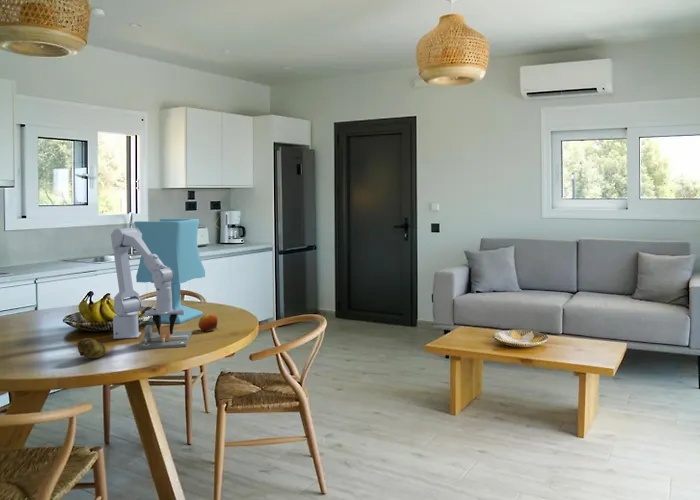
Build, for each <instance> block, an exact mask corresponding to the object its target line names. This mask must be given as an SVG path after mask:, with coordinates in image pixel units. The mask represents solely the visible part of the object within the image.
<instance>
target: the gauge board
mask: <svg viewBox="0 0 700 500" xmlns="http://www.w3.org/2000/svg"><path fill="white" fill-rule="evenodd" d="M192 335H193V330H186V331H183V330H182V331H173V334H172V336H170V341H165V343H163V341H160V335H159V333H158V332H152V337H151V342H147V344H145V338H144V336H143V337H142V341H141V342H140V344H138V347H137V348H138V350H143V349H144V350H145V349H165V348H167V349H169V348H185V347H187V346H188V344H189V342H190V340H191V337H192Z"/></svg>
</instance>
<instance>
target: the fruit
mask: <svg viewBox="0 0 700 500" xmlns="http://www.w3.org/2000/svg"><path fill="white" fill-rule="evenodd" d="M218 323H219V322H218V317H217V316H216V315H215V314H213V313H207V314H205V315H202V316H200V318H199V321H198V328H199V329H200V330H201V331H202V332H211V331H214V330H218V328H217V327H218Z"/></svg>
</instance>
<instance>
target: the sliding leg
mask: <svg viewBox="0 0 700 500" xmlns="http://www.w3.org/2000/svg"><path fill="white" fill-rule="evenodd" d="M170 336H172V334H170V323H162V324H161V326H160V341H163V343H165V341H170Z"/></svg>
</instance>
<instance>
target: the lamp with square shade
mask: <svg viewBox="0 0 700 500" xmlns="http://www.w3.org/2000/svg"><path fill="white" fill-rule="evenodd" d="M133 223H134V227H137V228H138V229H139V231H140V232H141V233H142V240H143V241H144V243H145V244H146V246H147V247H148V249H149V251H150V252H151V254H156V255H157V256H158V258H159V259H160V260H161V261H162V263H163V264H164V265H165V266H167V267H170V268H171V269H172V270H173V272H174V279H173V281H172V282H171V290H172V309H184V315H177V318H176V320H175V323H174V325H176V324H177V325H178V324H179V325H180V324H183V323H187V322H189V321H191V320H194V319H197V318H199V317H203V316H204V315H203V314H204V313H203V311H201V310H198V309H195V308H192V307H188V306H186V305H182V301H181V300H182V298H181V297H182V296H181V295H182V294H181V284H183V283H186V282H189V281H190V280H194V279H203V278H205V277H206V269H205V267H204V264H203V262H202V260H201V257H200V253H199V247H198V246H199V245H198V232H199V225H200V219H198V218H160V219H159V220H158V221H157V220H156V221H154V220H153V221H152V220H151V221H150V220H149V221H143V220H142V221H141V220H140V221H139V220H138V221H137V220H136V221H134V222H133ZM152 276H153V275H152V273H151V272H150V271H149V269H148V268H147V267H146V266H145V264H144V258H143V257H142V256H141V255H140V259H139V265H138V269H137V272H136V276H135V277H136V278H135V279H136V283H151V284H154V282H153V280H152ZM169 317H170V315H167V316H161V324H170V320H169ZM148 323H154V321H153V319H150V320H149V322H148Z"/></svg>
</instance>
